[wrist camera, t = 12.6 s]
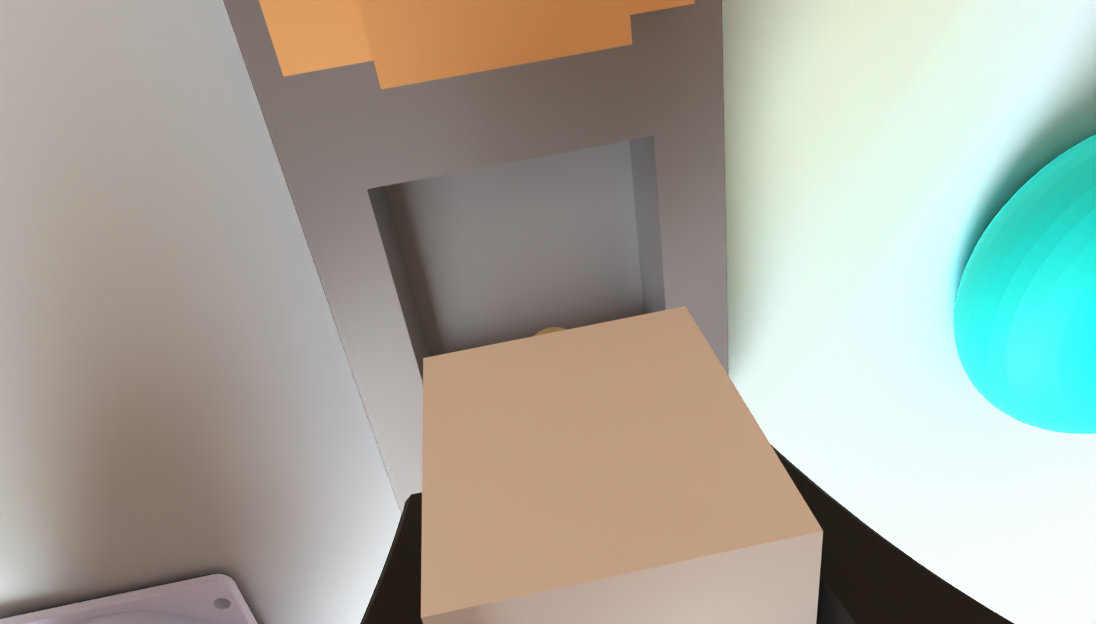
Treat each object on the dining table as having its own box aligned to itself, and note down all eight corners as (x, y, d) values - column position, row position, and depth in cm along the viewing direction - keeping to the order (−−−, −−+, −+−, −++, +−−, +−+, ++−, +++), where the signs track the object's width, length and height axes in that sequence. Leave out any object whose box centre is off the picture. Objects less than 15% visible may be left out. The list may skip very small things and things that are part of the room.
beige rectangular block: (674, 478, 15) (803, 790, 10) (480, 519, 15) (508, 859, 10) (659, 262, 12) (823, 531, 7) (424, 308, 12) (421, 618, 7)
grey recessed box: (696, 420, 23) (730, 486, 21) (416, 478, 23) (415, 553, 20) (656, -451, 13) (712, -533, 10) (143, -376, 13) (70, -443, 10)
